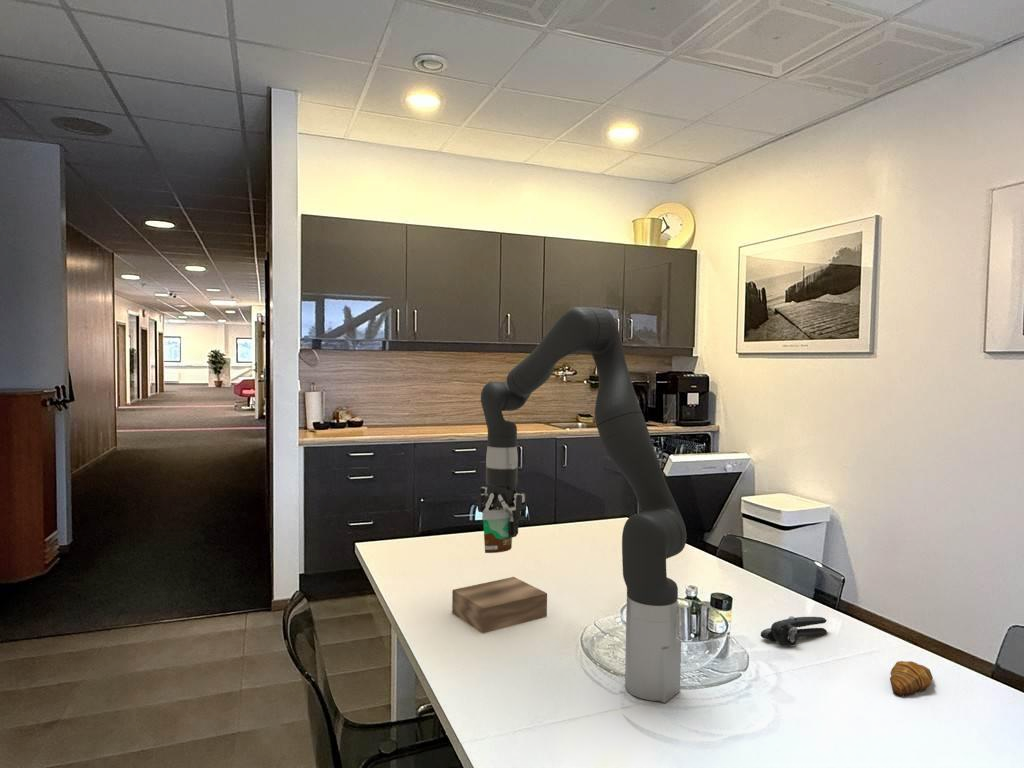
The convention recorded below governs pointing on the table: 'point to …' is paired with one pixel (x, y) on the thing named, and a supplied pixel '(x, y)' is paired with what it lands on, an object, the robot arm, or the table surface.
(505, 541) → the half-round tin
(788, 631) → the can opener
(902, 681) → the croissant
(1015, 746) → the table surface
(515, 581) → the brown wooden block
